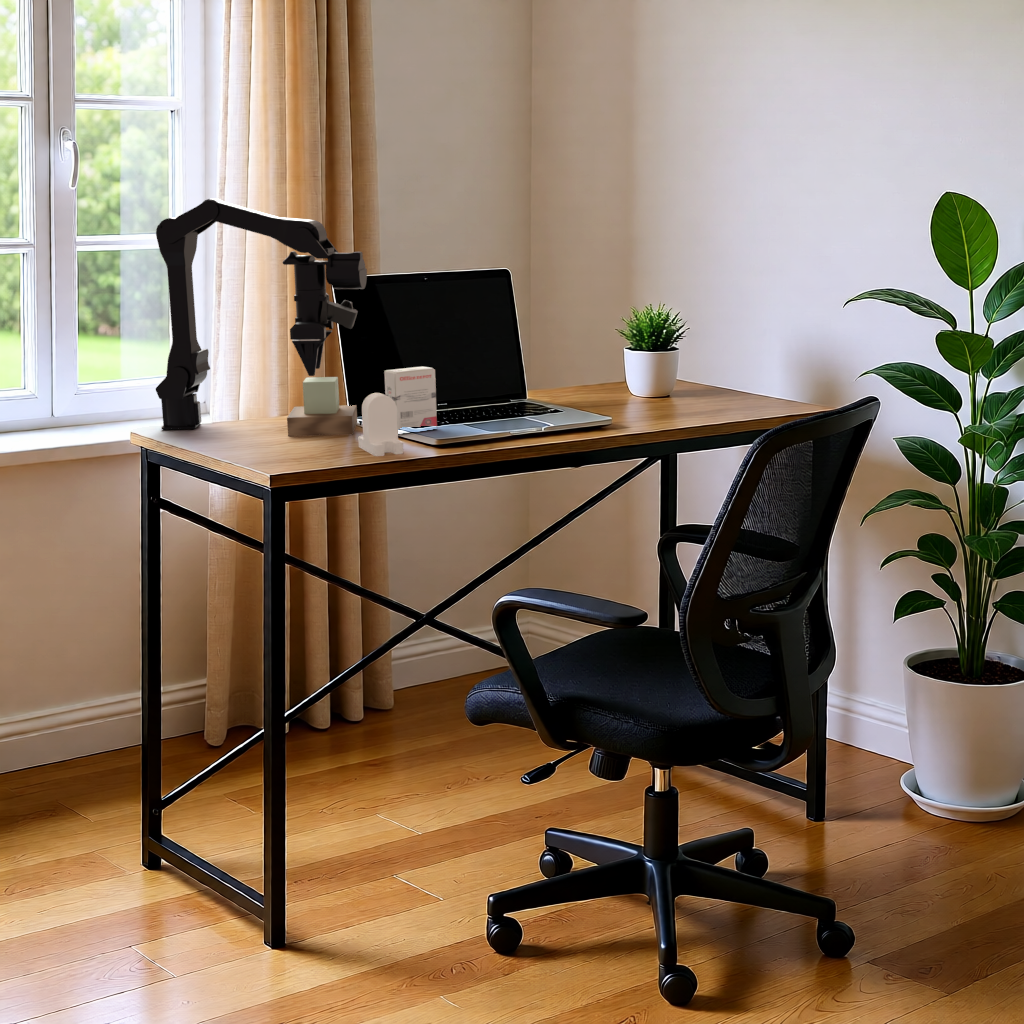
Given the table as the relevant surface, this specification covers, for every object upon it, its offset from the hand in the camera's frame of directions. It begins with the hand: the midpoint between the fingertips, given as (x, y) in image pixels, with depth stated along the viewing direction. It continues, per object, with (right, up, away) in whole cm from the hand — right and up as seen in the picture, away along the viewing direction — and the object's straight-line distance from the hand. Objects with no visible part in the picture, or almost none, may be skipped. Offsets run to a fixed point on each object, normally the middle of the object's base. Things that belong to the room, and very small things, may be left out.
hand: (314, 372), depth 263 cm
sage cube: (+1, -7, +1) cm, 7 cm away
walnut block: (+2, -11, +2) cm, 11 cm away
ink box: (+19, -11, -2) cm, 22 cm away
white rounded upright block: (+14, -16, -18) cm, 28 cm away
